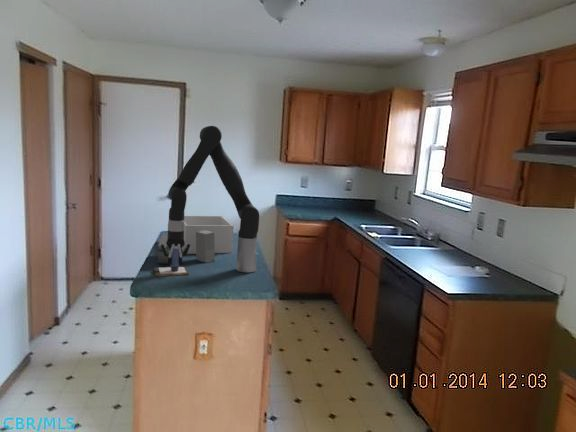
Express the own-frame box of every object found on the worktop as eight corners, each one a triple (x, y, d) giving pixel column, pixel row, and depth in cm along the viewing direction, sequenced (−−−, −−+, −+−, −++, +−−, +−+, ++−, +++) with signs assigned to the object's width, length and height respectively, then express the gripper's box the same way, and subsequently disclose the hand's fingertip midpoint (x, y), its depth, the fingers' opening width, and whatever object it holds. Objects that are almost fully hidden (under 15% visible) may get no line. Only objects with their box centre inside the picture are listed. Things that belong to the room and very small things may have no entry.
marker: (178, 268, 215) (179, 244, 213) (179, 271, 211) (180, 246, 209) (170, 269, 213) (170, 244, 211) (170, 271, 210) (171, 246, 208)
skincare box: (214, 261, 238) (216, 232, 235) (203, 263, 232) (205, 233, 230) (205, 257, 243) (206, 229, 241) (194, 259, 238) (195, 230, 235)
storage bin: (220, 240, 286) (221, 216, 284) (232, 252, 258) (233, 225, 255) (177, 241, 277) (178, 215, 274) (184, 253, 248) (185, 225, 245)
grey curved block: (173, 267, 221) (174, 246, 220) (157, 267, 220) (157, 245, 218) (176, 254, 246) (177, 235, 244) (161, 254, 244) (162, 234, 242)
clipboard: (185, 268, 221) (185, 264, 221) (188, 275, 211) (188, 271, 211) (153, 269, 216) (154, 265, 215) (155, 276, 206) (155, 272, 205)
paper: (183, 267, 220) (183, 266, 220) (186, 272, 211) (186, 272, 211) (158, 268, 215) (158, 267, 215) (160, 273, 207) (160, 273, 207)
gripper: (190, 227, 215) (188, 262, 218) (159, 227, 210) (158, 262, 213) (192, 230, 208) (191, 266, 211) (161, 230, 203) (160, 267, 206)
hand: (174, 264), depth 212 cm, fingers closed on marker, 3 cm apart
